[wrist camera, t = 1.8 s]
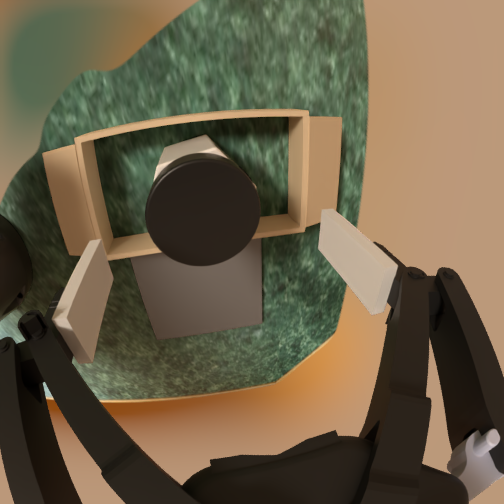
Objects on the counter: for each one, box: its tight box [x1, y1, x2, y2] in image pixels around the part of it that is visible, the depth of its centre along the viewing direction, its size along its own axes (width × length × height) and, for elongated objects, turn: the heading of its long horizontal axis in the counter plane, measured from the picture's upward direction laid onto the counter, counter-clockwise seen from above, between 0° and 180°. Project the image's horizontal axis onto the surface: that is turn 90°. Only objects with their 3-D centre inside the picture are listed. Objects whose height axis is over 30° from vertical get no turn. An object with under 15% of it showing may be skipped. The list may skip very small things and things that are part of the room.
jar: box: [145, 135, 261, 266], centre depth 24 cm, size 9×8×12 cm
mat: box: [130, 238, 262, 340], centre depth 36 cm, size 16×16×1 cm
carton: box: [42, 109, 342, 261], centre depth 27 cm, size 32×13×4 cm, turn 92°
